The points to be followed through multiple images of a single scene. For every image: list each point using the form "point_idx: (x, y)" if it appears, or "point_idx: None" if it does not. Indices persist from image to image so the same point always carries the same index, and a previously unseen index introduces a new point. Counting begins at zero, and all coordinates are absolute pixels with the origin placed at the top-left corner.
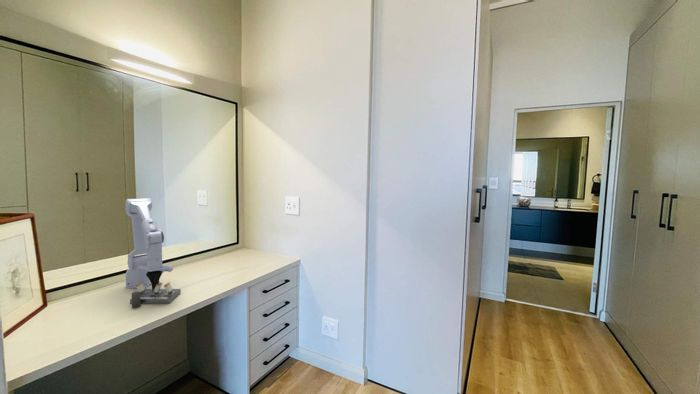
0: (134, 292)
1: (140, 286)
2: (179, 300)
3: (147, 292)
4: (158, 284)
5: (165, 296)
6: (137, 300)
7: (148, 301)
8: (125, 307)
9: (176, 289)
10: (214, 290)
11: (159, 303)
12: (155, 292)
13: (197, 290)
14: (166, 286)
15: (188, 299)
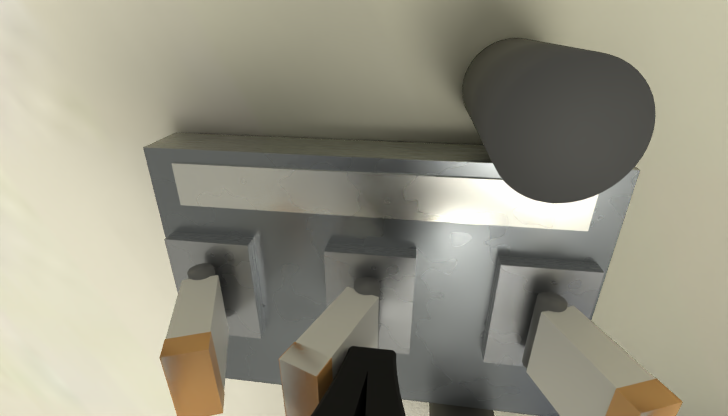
0: (605, 151)
1: (591, 389)
2: (137, 210)
3: (486, 332)
4: (300, 384)
5: (233, 228)
6: (491, 64)
7: (387, 149)
8: (637, 65)
9: (231, 371)
10: (4, 359)
11: (269, 136)
12: (356, 287)
13: (127, 373)
14: (180, 335)
15: (74, 224)
